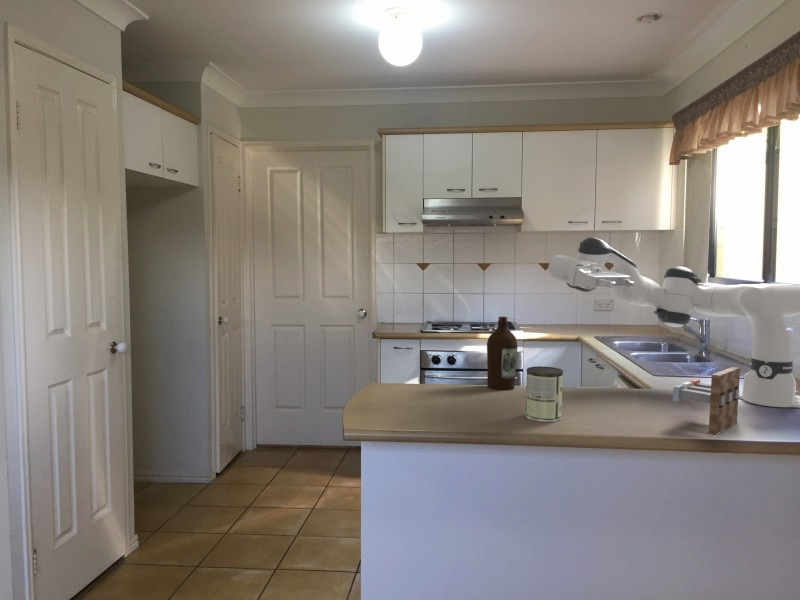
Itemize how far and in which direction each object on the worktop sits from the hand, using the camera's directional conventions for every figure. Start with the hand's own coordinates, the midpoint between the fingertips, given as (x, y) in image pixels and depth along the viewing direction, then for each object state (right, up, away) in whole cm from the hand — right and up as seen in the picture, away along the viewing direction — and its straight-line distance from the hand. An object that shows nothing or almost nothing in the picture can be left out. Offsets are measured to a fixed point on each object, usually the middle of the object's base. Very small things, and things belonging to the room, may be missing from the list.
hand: (623, 285), depth 195 cm
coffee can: (-27, -39, -12) cm, 49 cm away
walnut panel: (+21, -40, -20) cm, 49 cm away
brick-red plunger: (+22, -33, -13) cm, 41 cm away
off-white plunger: (+18, -33, -17) cm, 41 cm away
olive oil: (-33, -36, +28) cm, 56 cm away
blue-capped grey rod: (+13, -33, -21) cm, 41 cm away
